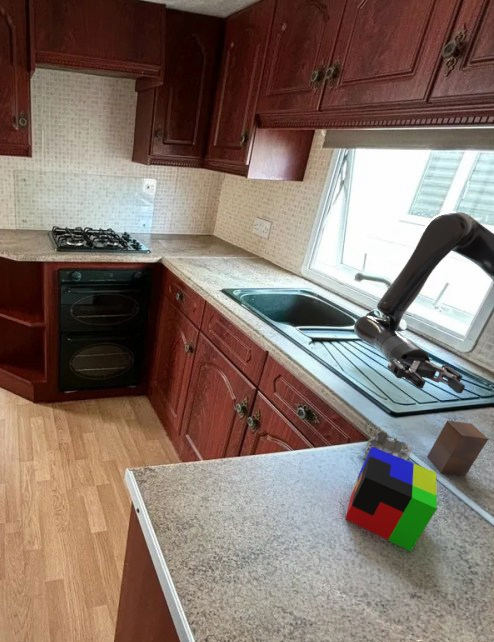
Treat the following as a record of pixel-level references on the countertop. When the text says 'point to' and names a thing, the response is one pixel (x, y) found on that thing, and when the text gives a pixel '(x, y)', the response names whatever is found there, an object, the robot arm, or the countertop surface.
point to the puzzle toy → (393, 498)
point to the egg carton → (388, 445)
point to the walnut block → (457, 448)
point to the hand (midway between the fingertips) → (442, 387)
